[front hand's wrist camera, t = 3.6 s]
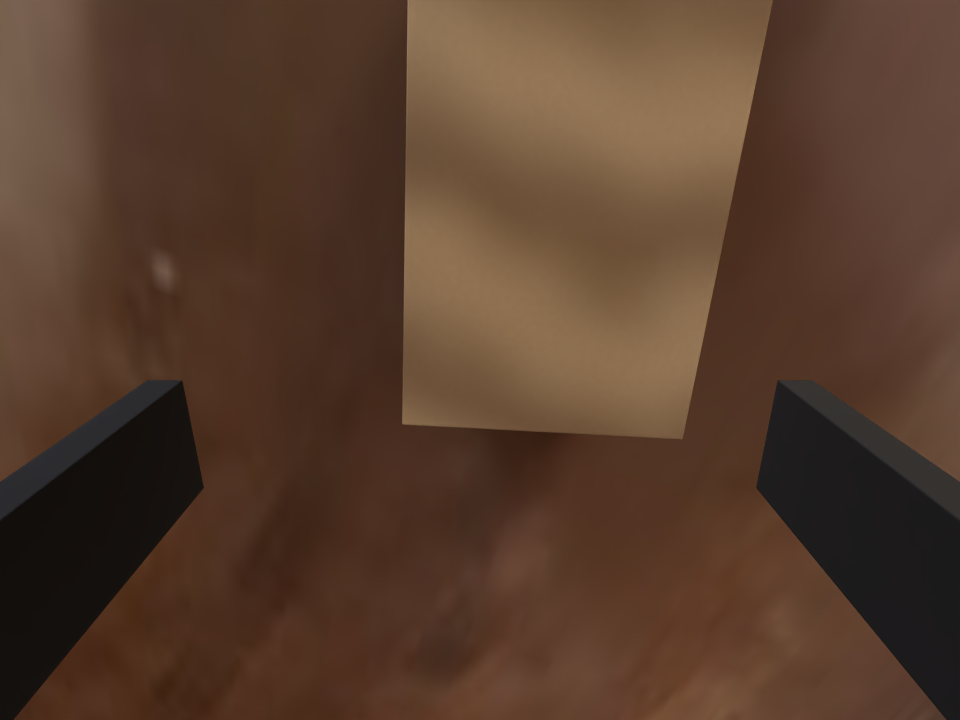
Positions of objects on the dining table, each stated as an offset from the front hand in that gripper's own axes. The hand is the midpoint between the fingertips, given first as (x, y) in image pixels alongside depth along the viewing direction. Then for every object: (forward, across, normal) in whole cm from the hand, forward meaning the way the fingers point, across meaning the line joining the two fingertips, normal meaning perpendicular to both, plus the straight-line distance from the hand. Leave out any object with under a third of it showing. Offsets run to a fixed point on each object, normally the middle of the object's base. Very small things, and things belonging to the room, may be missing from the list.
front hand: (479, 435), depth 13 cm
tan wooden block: (+16, -3, -5) cm, 17 cm away
